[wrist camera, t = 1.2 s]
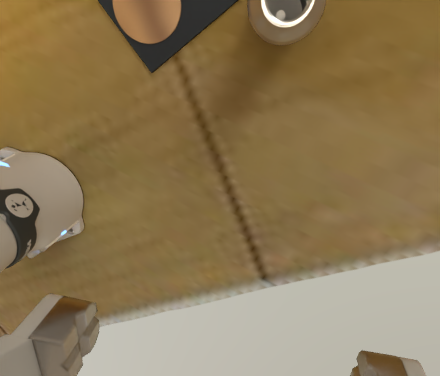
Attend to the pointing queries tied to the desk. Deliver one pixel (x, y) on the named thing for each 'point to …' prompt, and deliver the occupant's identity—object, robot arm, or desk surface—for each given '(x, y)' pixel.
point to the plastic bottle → (284, 19)
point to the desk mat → (185, 31)
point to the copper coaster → (148, 18)
